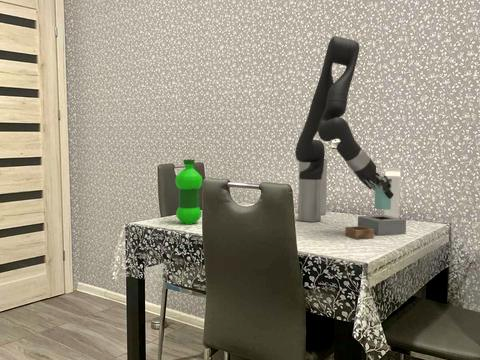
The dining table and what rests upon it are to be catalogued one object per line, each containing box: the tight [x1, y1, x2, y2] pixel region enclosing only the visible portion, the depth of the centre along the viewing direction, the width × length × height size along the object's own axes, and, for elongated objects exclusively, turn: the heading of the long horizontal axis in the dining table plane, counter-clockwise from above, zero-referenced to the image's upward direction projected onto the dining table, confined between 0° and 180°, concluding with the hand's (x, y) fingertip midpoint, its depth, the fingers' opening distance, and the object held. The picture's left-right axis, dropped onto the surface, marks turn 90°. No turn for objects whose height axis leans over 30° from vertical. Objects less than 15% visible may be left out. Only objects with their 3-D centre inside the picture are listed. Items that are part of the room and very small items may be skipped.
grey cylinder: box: [297, 158, 328, 216], centre depth 215 cm, size 12×12×25 cm
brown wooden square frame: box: [344, 225, 375, 240], centre depth 163 cm, size 7×7×3 cm
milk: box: [383, 167, 402, 218], centre depth 199 cm, size 6×6×22 cm
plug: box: [374, 179, 392, 211], centre depth 172 cm, size 4×4×11 cm
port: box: [357, 214, 407, 237], centre depth 173 cm, size 12×12×5 cm
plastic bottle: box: [174, 158, 203, 225], centre depth 186 cm, size 10×10×25 cm
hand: (387, 196), depth 173 cm, fingers closed on plug, 4 cm apart
